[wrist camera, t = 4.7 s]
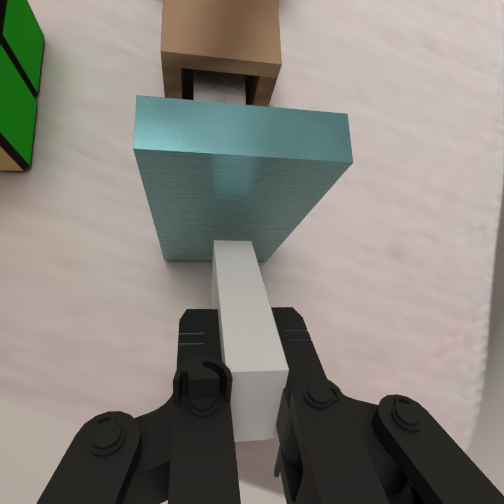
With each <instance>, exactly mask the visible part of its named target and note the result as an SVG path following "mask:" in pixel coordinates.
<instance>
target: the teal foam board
mask: <svg viewBox="0 0 504 504" xmlns="http://www.w3.org/2000/svg"><path fill="white" fill-rule="evenodd" d="M133 150H134V153H135V157H136V160H137V164H138V167H139V171H140V175H141V178H142V182H143V185H144V189H145V192H146V196H147V200H148V203H149V207H150V210H151V214H152V217H153V221H154V224H155V228H156V232H157V235H158V239H159V242H160V246H161V249H162V253H163V257H164V260H179V261H213V246H214V240H227V241H252V245H253V248H254V252H255V255H256V258H257V261H263V262H266V261H267V260H268V259H269V257H270V256H271V255H272V254H273V253H274V252H275V251H276V249H277V248H278V247H279V246H280V245H281V244H282V243H283V241H284V240H285V239H286V238H287V237H288V236H289V235H290V234H291V232H292V231H293V230H294V229H295V228H296V227H297V226H298V224H299V223H300V222H301V221H302V220H303V219H304V218H305V216H306V215H307V214H308V213H309V212H310V211H311V210H312V209H313V207H314V206H315V205H316V204H317V203H318V202H319V201H320V199H321V198H322V197H323V196H324V195H325V194H326V193H327V191H328V190H329V189H330V188H331V187H332V186H333V185H334V184H335V182H336V181H337V180H338V179H339V178H340V177H341V176H342V174H343V173H344V172H345V171H346V170H347V169H348V168H349V166H350V165H351V164H352V163H353V158H352V149H351V141H350V132H349V123H348V115H347V114H343V113H332V112H320V111H309V110H298V109H287V108H275V107H264V106H253V105H246V94H245V74H235V73H226V72H216V71H206V70H197V69H194V97H193V100H185V99H174V98H163V97H151V96H140V95H137V98H136V113H135V128H134V144H133Z"/></svg>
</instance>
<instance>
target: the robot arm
mask: <svg viewBox="0 0 504 504" xmlns="http://www.w3.org/2000/svg"><path fill="white" fill-rule="evenodd" d="M211 307H212V309H187V310H186V311H185V313H184V314H183V316H182V317H181V319H180V321H179V338H178V356H177V371H176V373H175V376H174V379H173V394H172V396H171V398H170V399H169V400H168V401H167V402H166V403H165V404H164V405H163V406H161V407H160V408H159V409H157V410H155V411H152V412H150V413H148V414H145V415H142V416H139V417H136V418H133V417H132V416H131V415H129V414H127V413H124V412H121V411H113V412H106V413H103V414H100V415H97V416H95V417H94V418H92V419H91V420H89V421H88V422H86V423H85V424H84V425H83V426H82V428H81V429H80V430H79V432H78V433H77V434H76V436H75V437H74V439H73V441H72V443H71V444H70V446H69V448H68V449H67V451H66V453H65V455H64V456H63V458H62V460H61V462H60V464H59V465H58V467H57V469H56V470H55V472H54V474H53V476H52V477H51V479H50V481H49V483H48V485H47V486H46V488H45V490H44V492H43V493H42V495H41V497H40V498H39V500H38V502H37V504H160V503H163V502H165V501H166V500H168V504H241V501H240V492H239V481H238V472H237V462H236V452H235V442H244V441H258V440H271V439H274V437H275V433H276V428H277V432H278V437H279V441H280V446H279V451H278V455H277V459H276V464H275V468H274V477H279V473H280V472H281V477H282V482H283V487H284V492H285V497H286V502H287V504H504V496H503V495H502V494H501V492H500V491H499V490H498V489H497V488H496V487H495V486H494V485H493V484H492V483H491V481H490V480H489V479H488V478H487V477H486V476H485V475H484V474H483V473H482V471H481V470H480V469H479V468H478V467H477V466H476V465H475V464H474V463H473V461H471V459H470V458H469V457H468V456H467V455H466V454H465V452H464V451H463V450H462V449H461V448H460V447H459V446H458V445H457V444H456V442H455V441H454V440H453V439H452V438H451V437H450V436H449V435H448V434H447V432H446V431H445V430H444V429H443V428H442V427H441V426H440V425H439V424H438V422H437V421H436V420H435V419H434V418H433V417H432V416H431V415H430V414H429V412H428V411H427V410H426V409H425V408H423V407H422V406H421V405H420V404H419V403H418V402H416V401H414V400H412V399H410V398H408V397H405V396H401V395H397V394H396V395H387V396H386V397H384V398H383V399H381V401H380V403H379V405H376V404H371V403H367V402H363V401H359V400H355V399H352V398H349V397H347V396H345V395H343V394H342V392H341V391H340V389H339V388H338V387H337V386H336V385H335V384H334V383H332V382H331V381H330V380H328V379H327V377H326V375H325V373H324V370H323V368H322V365H321V363H320V360H319V358H318V355H317V353H316V350H315V348H314V345H313V343H312V341H311V338H310V335H309V333H308V331H307V328H306V325H305V323H304V320H303V317H302V316H301V315H300V314H299V313H298V312H297V311H296V310H295V309H294V308H293V307H276V308H271V307H270V303H269V300H268V296H267V293H266V289H265V286H264V283H263V279H262V276H261V272H260V269H259V265H258V262H257V258H256V255H255V252H254V248H253V245H252V241H227V240H214V246H213V265H212V284H211Z"/></svg>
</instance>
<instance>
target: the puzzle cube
mask: <svg viewBox="0 0 504 504" xmlns="http://www.w3.org/2000/svg"><path fill="white" fill-rule="evenodd" d="M43 43H44V35H43V33H42V31H41V29H40V27H39V25H38V22H37V20H36V18H35V16H34V14H33V12H32V10H31V7H30V5H29V3H28V1H27V0H0V170H5V171H24V170H25V169H27V168H28V167H30V162H31V153H32V144H33V135H34V126H35V117H36V108H37V101H36V100H35V98H34V97H35V96H36V95H37V94H38V88H39V79H40V70H41V61H42V52H43Z"/></svg>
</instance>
